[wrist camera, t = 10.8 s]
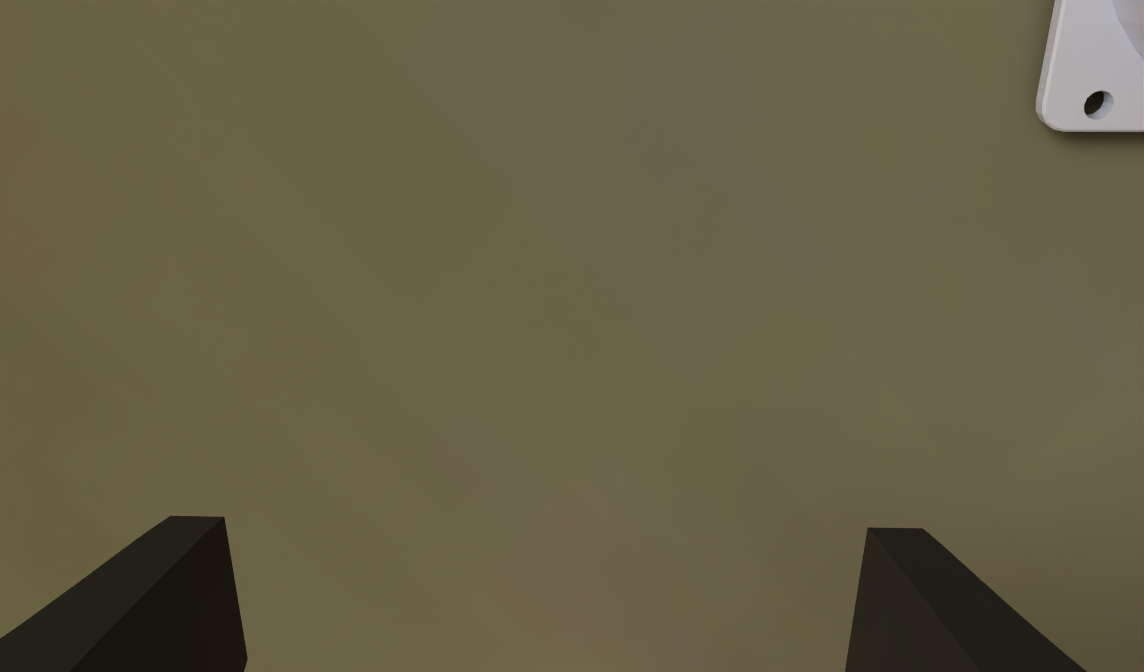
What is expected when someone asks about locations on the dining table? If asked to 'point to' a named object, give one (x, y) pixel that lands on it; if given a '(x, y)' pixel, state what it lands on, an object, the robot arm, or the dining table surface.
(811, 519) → the dining table surface
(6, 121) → the dining table surface
